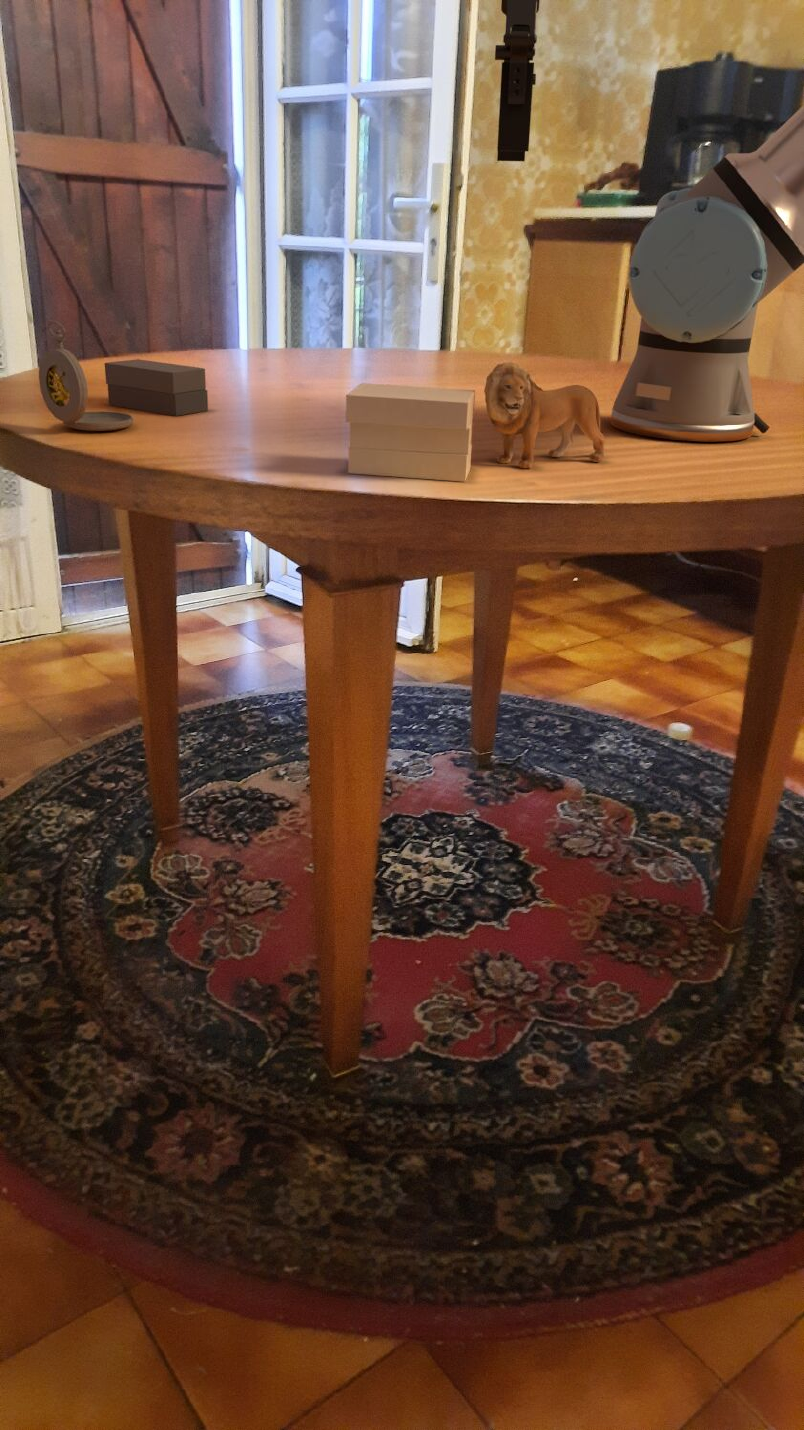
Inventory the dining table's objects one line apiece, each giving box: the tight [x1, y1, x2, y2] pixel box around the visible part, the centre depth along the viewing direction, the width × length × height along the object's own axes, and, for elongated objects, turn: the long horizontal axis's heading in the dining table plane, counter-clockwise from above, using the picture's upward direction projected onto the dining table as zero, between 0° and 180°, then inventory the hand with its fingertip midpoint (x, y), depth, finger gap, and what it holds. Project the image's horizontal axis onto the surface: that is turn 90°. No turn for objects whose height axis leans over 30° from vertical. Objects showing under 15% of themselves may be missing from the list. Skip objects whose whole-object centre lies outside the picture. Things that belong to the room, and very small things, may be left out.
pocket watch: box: [38, 320, 134, 432], centre depth 97 cm, size 8×8×10 cm
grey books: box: [104, 358, 209, 417], centre depth 111 cm, size 10×5×4 cm, turn 58°
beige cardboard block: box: [347, 417, 474, 483], centre depth 87 cm, size 10×5×4 cm, turn 82°
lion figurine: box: [483, 361, 605, 470], centre depth 92 cm, size 15×5×9 cm, turn 127°
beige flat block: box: [345, 382, 476, 430], centre depth 86 cm, size 10×7×2 cm
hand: (511, 157), depth 95 cm, fingers open, 13 cm apart
